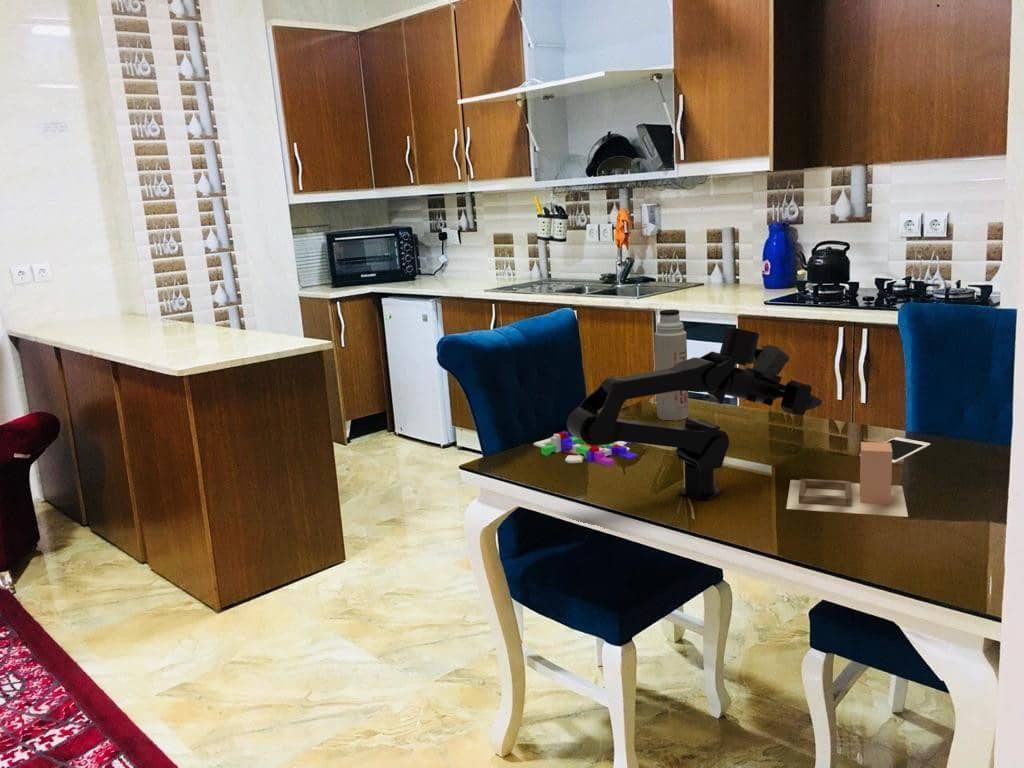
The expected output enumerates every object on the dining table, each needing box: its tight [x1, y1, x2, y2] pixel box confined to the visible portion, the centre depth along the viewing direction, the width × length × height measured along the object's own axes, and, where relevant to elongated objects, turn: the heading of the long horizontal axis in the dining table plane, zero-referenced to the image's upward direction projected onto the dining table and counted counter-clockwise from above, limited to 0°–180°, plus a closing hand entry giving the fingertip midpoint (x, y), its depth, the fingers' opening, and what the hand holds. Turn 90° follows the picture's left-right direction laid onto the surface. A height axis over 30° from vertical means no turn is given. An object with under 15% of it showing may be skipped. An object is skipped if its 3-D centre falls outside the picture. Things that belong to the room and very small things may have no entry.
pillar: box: [859, 441, 893, 505], centre depth 151 cm, size 5×5×10 cm
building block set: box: [533, 430, 639, 468], centre depth 196 cm, size 25×20×4 cm
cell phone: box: [858, 436, 931, 464], centre depth 180 cm, size 8×16×1 cm, turn 129°
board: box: [785, 478, 909, 518], centre depth 154 cm, size 20×15×2 cm
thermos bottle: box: [653, 309, 689, 421], centre depth 213 cm, size 8×8×28 cm
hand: (805, 398), depth 168 cm, fingers open, 9 cm apart
